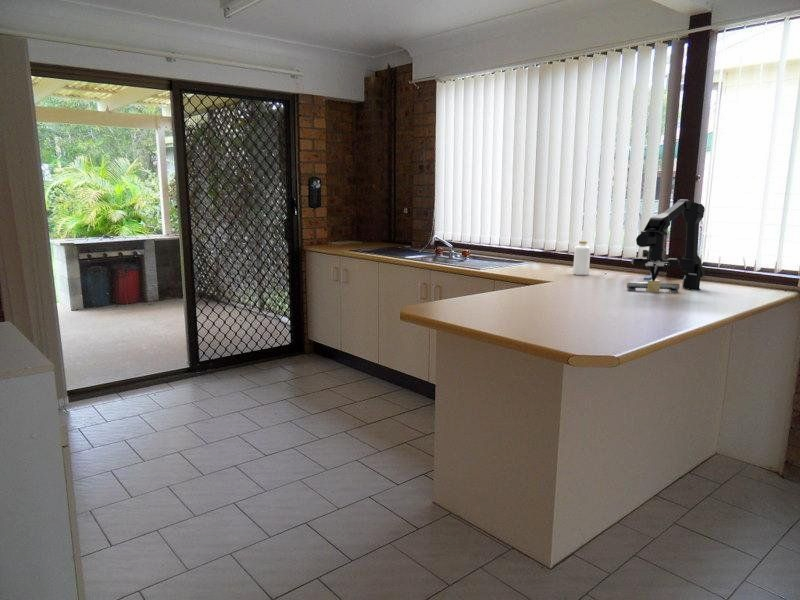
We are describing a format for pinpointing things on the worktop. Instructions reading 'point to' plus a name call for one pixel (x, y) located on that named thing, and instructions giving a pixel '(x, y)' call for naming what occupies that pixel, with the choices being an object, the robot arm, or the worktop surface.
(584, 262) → the potion bottle
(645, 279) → the valve lever
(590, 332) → the worktop surface
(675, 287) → the pipe run
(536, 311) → the worktop surface
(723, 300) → the worktop surface
